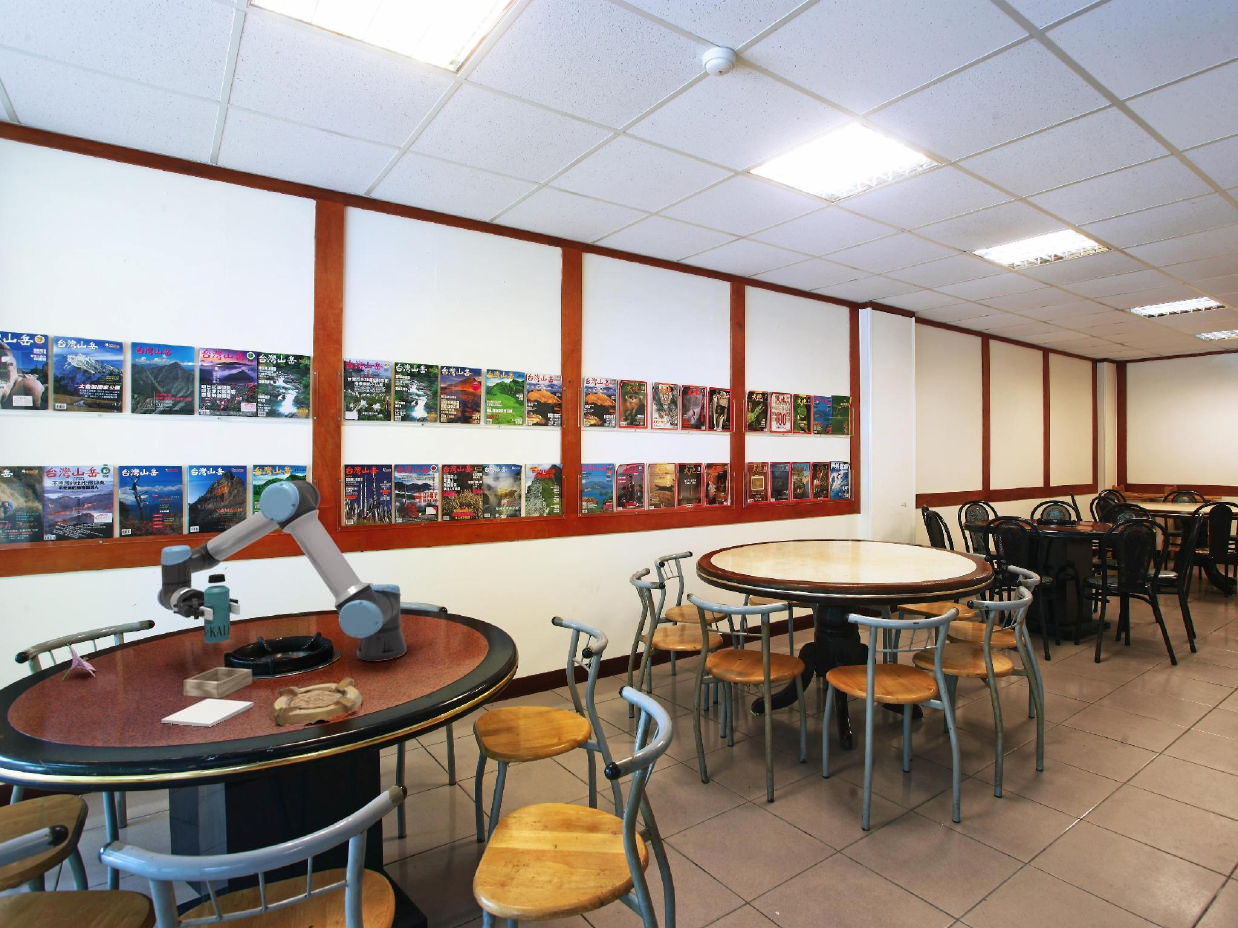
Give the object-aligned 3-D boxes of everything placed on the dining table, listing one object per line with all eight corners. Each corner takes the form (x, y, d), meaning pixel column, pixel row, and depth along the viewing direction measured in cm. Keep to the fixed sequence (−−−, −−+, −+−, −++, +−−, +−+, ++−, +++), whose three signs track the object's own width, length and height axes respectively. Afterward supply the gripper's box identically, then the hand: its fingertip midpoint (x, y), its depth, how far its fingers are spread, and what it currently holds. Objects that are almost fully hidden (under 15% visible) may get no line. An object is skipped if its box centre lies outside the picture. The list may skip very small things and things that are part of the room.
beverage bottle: (211, 642, 188) (210, 572, 187) (235, 641, 188) (234, 571, 188) (198, 649, 181) (197, 576, 181) (224, 648, 182) (222, 576, 181)
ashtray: (294, 692, 183) (294, 674, 183) (379, 692, 182) (379, 674, 182) (243, 728, 159) (243, 707, 159) (340, 728, 159) (340, 708, 158)
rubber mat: (253, 706, 172) (253, 702, 172) (210, 728, 158) (210, 723, 158) (207, 702, 175) (207, 698, 175) (161, 723, 161) (161, 719, 161)
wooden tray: (252, 683, 189) (251, 669, 189) (220, 698, 178) (219, 683, 178) (217, 680, 192) (217, 667, 192) (183, 695, 180) (183, 680, 180)
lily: (79, 688, 189) (99, 655, 193) (36, 675, 187) (57, 642, 191) (97, 687, 200) (115, 656, 204) (55, 675, 198) (75, 644, 202)
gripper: (225, 608, 203) (261, 618, 189) (152, 621, 188) (186, 633, 174) (224, 583, 203) (260, 592, 189) (152, 595, 187) (185, 605, 174)
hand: (224, 612), depth 181 cm, fingers closed on beverage bottle, 6 cm apart
